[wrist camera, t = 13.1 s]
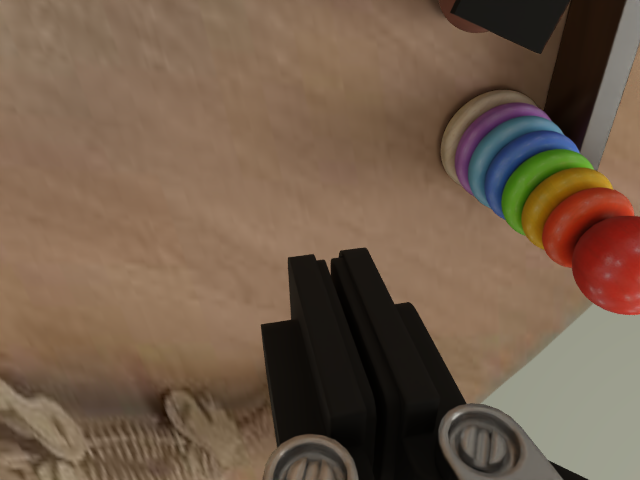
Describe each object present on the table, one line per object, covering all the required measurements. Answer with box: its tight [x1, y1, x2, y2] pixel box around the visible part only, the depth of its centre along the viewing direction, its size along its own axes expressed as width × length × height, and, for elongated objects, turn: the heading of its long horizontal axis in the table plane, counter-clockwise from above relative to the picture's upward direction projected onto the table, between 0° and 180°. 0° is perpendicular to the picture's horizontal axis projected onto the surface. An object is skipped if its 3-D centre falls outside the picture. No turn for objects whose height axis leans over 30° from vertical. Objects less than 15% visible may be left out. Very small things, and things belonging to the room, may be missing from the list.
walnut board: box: [544, 0, 640, 171], centre depth 34 cm, size 2×26×5 cm, turn 0°
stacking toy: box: [441, 90, 640, 315], centre depth 31 cm, size 8×8×19 cm
